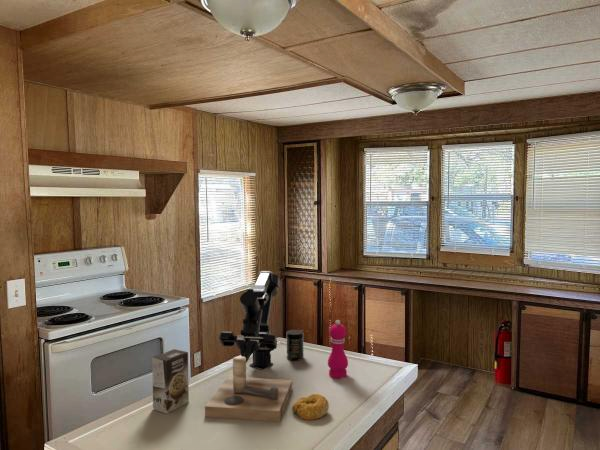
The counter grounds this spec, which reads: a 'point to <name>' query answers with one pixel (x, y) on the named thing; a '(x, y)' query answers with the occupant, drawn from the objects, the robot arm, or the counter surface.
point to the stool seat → (249, 400)
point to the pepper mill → (337, 351)
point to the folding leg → (240, 380)
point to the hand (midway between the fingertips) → (243, 364)
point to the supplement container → (294, 344)
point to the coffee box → (170, 380)
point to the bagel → (311, 407)
